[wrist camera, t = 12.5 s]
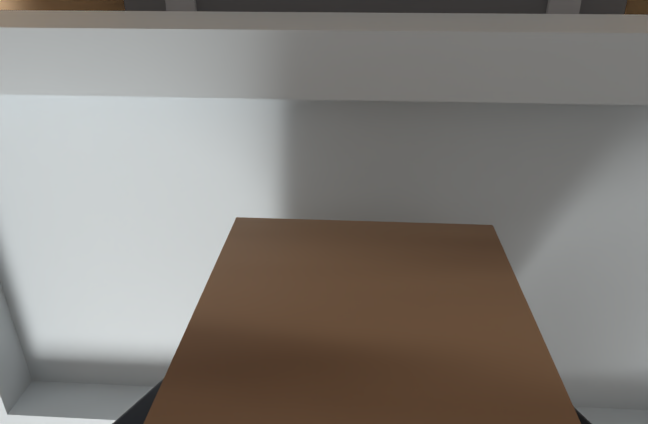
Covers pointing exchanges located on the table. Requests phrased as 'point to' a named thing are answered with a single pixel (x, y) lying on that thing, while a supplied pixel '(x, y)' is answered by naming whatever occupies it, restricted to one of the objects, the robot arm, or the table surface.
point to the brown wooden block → (361, 331)
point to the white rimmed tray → (310, 176)
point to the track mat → (386, 6)
